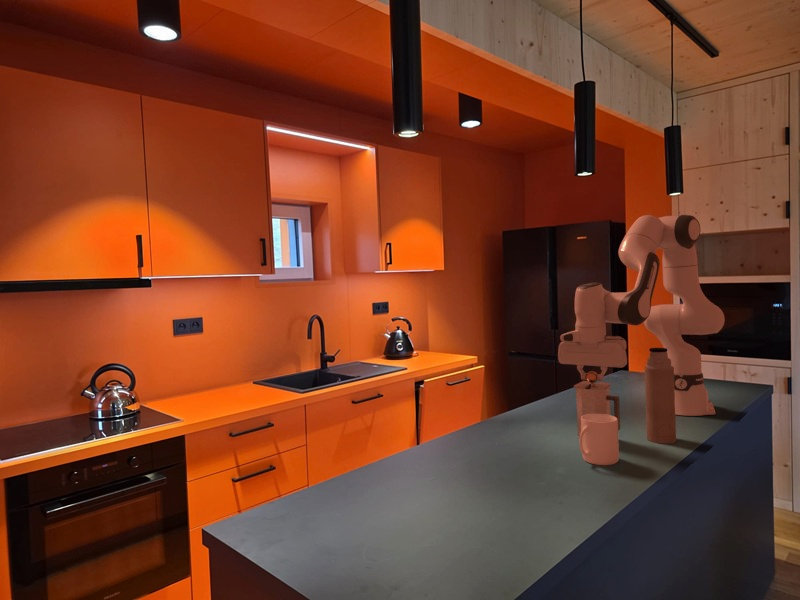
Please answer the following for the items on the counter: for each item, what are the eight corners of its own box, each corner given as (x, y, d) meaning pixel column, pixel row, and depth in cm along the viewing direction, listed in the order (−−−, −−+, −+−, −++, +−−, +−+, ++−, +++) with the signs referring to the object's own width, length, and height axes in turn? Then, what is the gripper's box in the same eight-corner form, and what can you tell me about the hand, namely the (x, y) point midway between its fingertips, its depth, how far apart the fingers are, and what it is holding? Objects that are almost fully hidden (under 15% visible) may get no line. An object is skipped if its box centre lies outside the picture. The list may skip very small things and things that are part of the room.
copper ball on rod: (586, 423, 164) (584, 368, 164) (608, 426, 160) (606, 370, 160) (579, 428, 159) (577, 372, 159) (601, 431, 155) (599, 373, 154)
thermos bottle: (671, 435, 160) (668, 346, 159) (679, 443, 152) (677, 349, 151) (643, 435, 161) (640, 346, 160) (650, 443, 153) (647, 350, 152)
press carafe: (584, 433, 166) (582, 380, 166) (623, 439, 159) (622, 383, 158) (575, 440, 159) (572, 385, 159) (615, 447, 152) (613, 389, 151)
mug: (625, 459, 142) (623, 417, 141) (604, 471, 133) (603, 426, 133) (592, 451, 149) (591, 411, 148) (571, 463, 140) (569, 420, 140)
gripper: (629, 335, 155) (630, 380, 155) (562, 333, 168) (564, 375, 168) (623, 337, 150) (624, 384, 150) (555, 335, 163) (556, 379, 163)
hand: (592, 379), depth 159 cm, fingers closed on copper ball on rod, 4 cm apart
